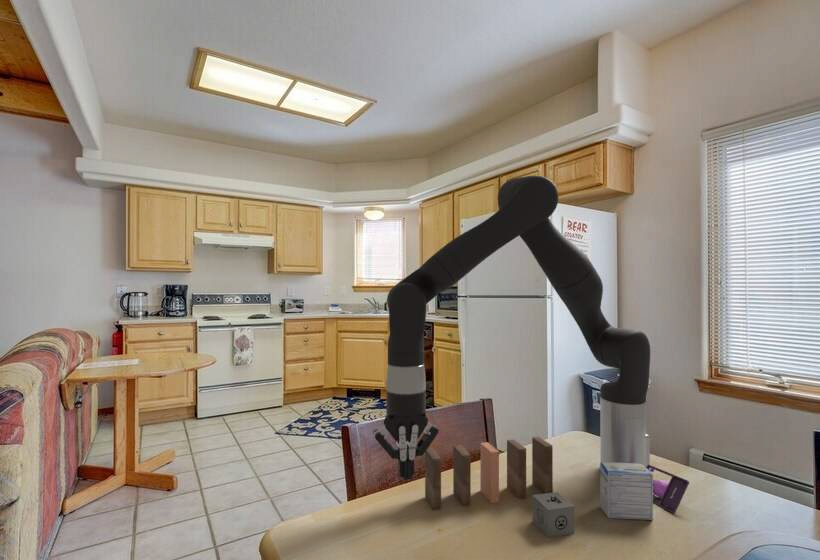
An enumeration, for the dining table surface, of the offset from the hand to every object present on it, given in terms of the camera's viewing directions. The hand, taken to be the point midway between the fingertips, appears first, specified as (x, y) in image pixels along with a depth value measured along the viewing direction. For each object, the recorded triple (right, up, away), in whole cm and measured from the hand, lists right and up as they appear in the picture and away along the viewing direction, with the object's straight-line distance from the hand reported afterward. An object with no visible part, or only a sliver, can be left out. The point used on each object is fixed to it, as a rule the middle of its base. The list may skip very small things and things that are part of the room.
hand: (406, 478), depth 79 cm
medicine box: (+41, -6, -2) cm, 42 cm away
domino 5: (+28, -6, +7) cm, 30 cm away
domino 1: (+5, -6, +1) cm, 8 cm away
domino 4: (+23, -6, +6) cm, 24 cm away
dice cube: (+26, -6, -6) cm, 27 cm away
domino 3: (+17, -6, +4) cm, 18 cm away
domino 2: (+11, -6, +3) cm, 13 cm away
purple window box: (+53, -4, -1) cm, 53 cm away
